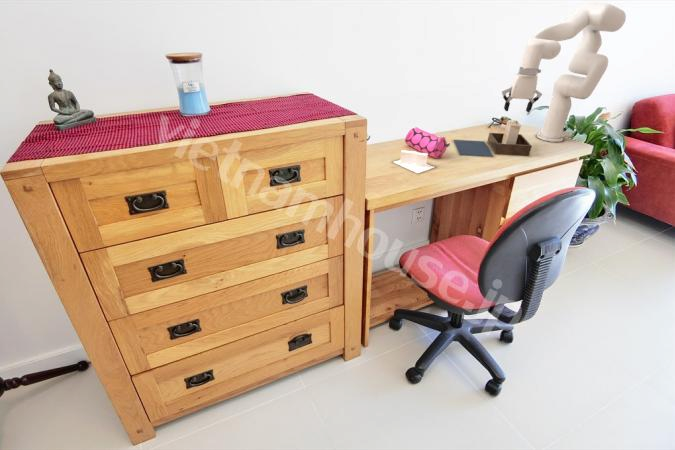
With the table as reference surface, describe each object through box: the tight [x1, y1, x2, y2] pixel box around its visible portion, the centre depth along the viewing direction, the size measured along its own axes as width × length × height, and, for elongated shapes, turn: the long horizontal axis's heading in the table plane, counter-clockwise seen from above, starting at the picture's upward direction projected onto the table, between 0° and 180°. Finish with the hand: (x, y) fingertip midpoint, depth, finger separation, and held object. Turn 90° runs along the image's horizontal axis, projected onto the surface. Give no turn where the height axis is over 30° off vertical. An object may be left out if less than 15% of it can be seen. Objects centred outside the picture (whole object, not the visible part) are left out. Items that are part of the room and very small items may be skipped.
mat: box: [453, 139, 494, 158], centre depth 182 cm, size 15×20×1 cm
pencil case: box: [404, 126, 451, 159], centre depth 175 cm, size 21×10×10 cm, turn 35°
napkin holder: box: [392, 149, 435, 174], centre depth 162 cm, size 15×11×6 cm
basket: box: [486, 132, 533, 157], centre depth 181 cm, size 16×17×5 cm
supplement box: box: [500, 119, 522, 145], centre depth 179 cm, size 8×5×13 cm, turn 168°
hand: (516, 111), depth 172 cm, fingers open, 9 cm apart
